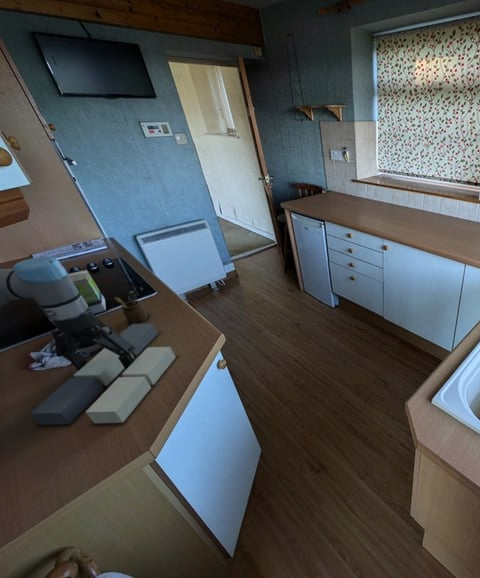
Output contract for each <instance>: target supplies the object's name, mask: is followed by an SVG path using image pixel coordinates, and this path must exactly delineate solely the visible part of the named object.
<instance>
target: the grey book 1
mask: <svg viewBox="0 0 480 578" xmlns="http://www.w3.org/2000/svg"><path fill="white" fill-rule="evenodd" d="M104 390H105V388H104V386H102V385H101V383H100V382H99V381H98V379H97V378H75V377H69V379H67V380H66V381H65V382H63V384H62V385H61V386H59V387H58V388H57V389H56V390H55V391H54V392H53V393H51V394H50V395H49V396H48V397H46V399H44V400H43V402H41V403H39V405H38V406H36V407H35V408H34V409H33V410H32V411H31V412H30V413H29V414H30V415H31V417H33V419H35V420H36V422H38V423H39V424H40V426H44V425H49V426H50V425H71V424H72V423H73V422H74V421H75V419H77V417H78V416H79V415H80V414H82V412H83V411H84V410H85V409H86V408H87V407H88V406H89V405H90V404H91V403H92V402H93V401H94V400H95V399H96V398H97V397H98V396H99V395H100V394H101V393H102V392H103V391H104Z"/></svg>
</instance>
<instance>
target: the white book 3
mask: <svg viewBox="0 0 480 578" xmlns="http://www.w3.org/2000/svg"><path fill="white" fill-rule="evenodd" d="M175 359H176V355H175V353H174V351H173V349H172V347H171V346H151V347H150V346H149V347H148V346H147V347H146V348H145V349H144V350H143V351H142V352H141V354H140V355H138V357H137V358H136V359H134V362H133V363H132V364H131V365H130V366H129V367H128V368H127V369H126V370H125V369H124V371H123V372H122V373H121V377H145V378H146V380H147V381H148V383H149V385H150V386H154V385H155V384H156V383H157V382H158V380H159V379H160V378H161V376H162V375H163V374H164V372H165V371H166V370H167V369H168V368H169V367H170V365H171V364H172V363H173V361H174V360H175Z"/></svg>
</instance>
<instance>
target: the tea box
mask: <svg viewBox="0 0 480 578" xmlns="http://www.w3.org/2000/svg"><path fill="white" fill-rule="evenodd" d="M68 275H69V276H70V278H71V280H72V282H73V283H74V285H75V286H76V288H77V290H78V291H79V293H80V294H81V295H82V297H83V298H84V300H85V301H86V303H87V304H88V308H89V309H90V310H91V311H92V313H93V314H94V315H96V314H98V313H101V312H105V311H107V307H106V306H107V305H106V299H105V297H104V295H103V293H102V292H101V290H100V289H99V287H98V285H97V284H96V282H95V281H94V279H93V277H92V276H91V274H90V273H89V271H88V270H87V269H83V270H79V271H75V272H71V273H70V272H69V273H68ZM32 299H33V300H34V302H35V303H36V304H37V306H38V307H39V308H40V309H41V311H42V312H43V313H44V315H45V316H46V317H47V318H48V320H49V321H50V322H51V321H52V320H51V319H50V318H49V317H48V315H47V314H46V313H45V311H44V310H43V308H42V307H40V305H39V303H38V302H37V301H36V300H35V299H34V298H32ZM52 325H53V326H55V325H54V324H52Z"/></svg>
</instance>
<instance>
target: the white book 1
mask: <svg viewBox="0 0 480 578" xmlns="http://www.w3.org/2000/svg"><path fill="white" fill-rule="evenodd" d="M121 352H122V351H121ZM131 355H132V354H131ZM118 357H119V355H117V354H115V353H113V352H111V351H109V350H108V349H106V348H104V347H103V349H102V350H101V351H99V352H98V353H97V354H96V355H95V356H94V357H93V358H92V359H90V360H89V361H87V362H88V363H87V364H86V365H85V366H84V367H82V368H81V369H80V370H79V371H78V370H77V371H76V372H75V373H74V374H73V377H74V378H97V379H98V381H99V382H100V383H101V385H102V386H103V387H108V385H109V384H110V383H112V382H113V380H115V378H116V377H118V375H119V374H121V372H122V371H123V370H125V368H124V366H123V365H122V363H121V362H120V360H119V359H118ZM132 357H133V358H134V359H135V356H132Z"/></svg>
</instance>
